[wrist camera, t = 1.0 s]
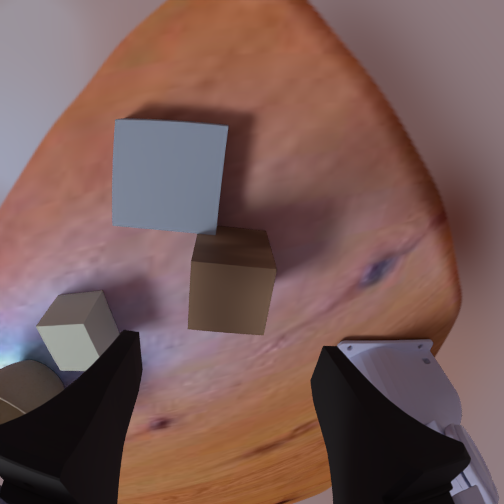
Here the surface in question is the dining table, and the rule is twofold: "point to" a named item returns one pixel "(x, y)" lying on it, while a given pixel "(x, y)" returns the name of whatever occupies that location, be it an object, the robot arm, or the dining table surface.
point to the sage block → (78, 329)
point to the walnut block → (231, 281)
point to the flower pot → (26, 388)
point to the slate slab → (167, 174)
